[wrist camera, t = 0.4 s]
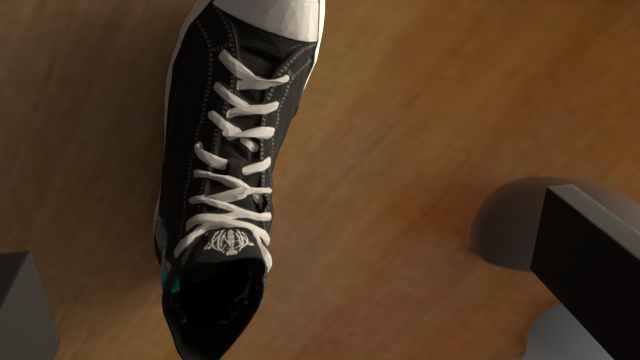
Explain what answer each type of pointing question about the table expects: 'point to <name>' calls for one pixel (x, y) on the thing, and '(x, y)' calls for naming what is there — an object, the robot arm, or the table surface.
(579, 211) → the robot arm
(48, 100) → the table surface
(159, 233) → the sneaker
